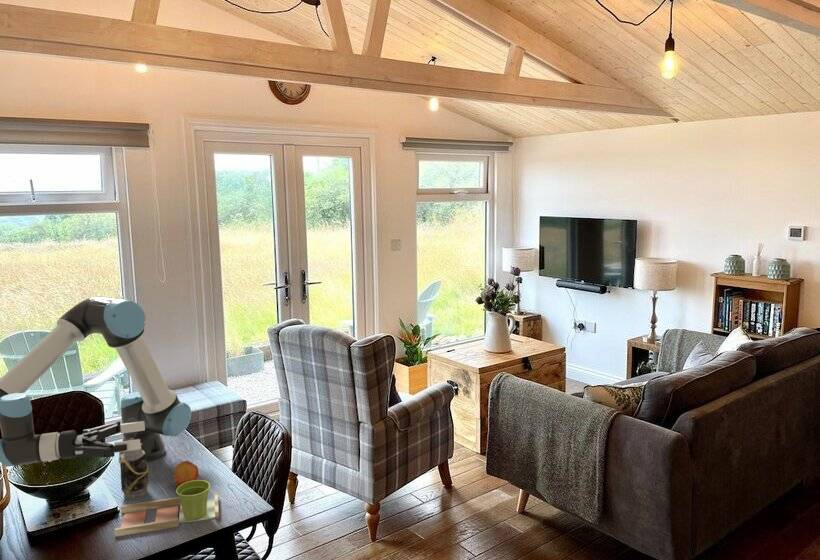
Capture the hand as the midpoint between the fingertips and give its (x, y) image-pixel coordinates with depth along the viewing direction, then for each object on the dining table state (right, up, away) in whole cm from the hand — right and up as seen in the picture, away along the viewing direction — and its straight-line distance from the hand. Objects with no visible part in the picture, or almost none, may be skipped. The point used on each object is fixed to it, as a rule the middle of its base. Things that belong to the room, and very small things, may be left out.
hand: (142, 434), depth 180 cm
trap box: (+7, -25, +3) cm, 26 cm away
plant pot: (+14, -24, +2) cm, 28 cm away
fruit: (+5, -22, +21) cm, 31 cm away
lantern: (-9, -23, +15) cm, 29 cm away
